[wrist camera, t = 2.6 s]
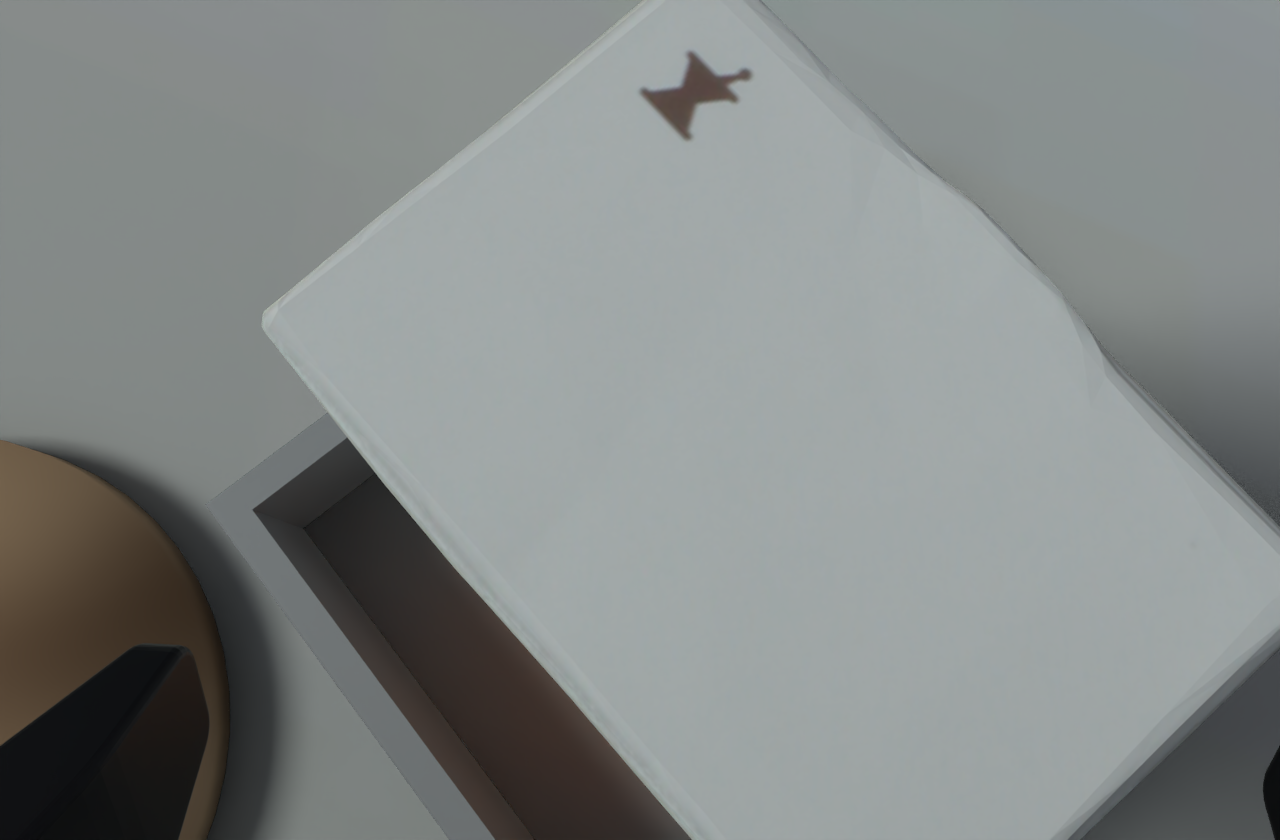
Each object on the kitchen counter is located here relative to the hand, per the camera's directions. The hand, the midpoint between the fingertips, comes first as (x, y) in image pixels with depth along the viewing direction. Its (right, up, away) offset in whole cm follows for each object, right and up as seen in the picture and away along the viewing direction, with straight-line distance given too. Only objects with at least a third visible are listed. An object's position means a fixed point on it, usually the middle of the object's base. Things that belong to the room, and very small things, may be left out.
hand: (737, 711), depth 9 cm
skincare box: (0, 0, +10) cm, 10 cm away
